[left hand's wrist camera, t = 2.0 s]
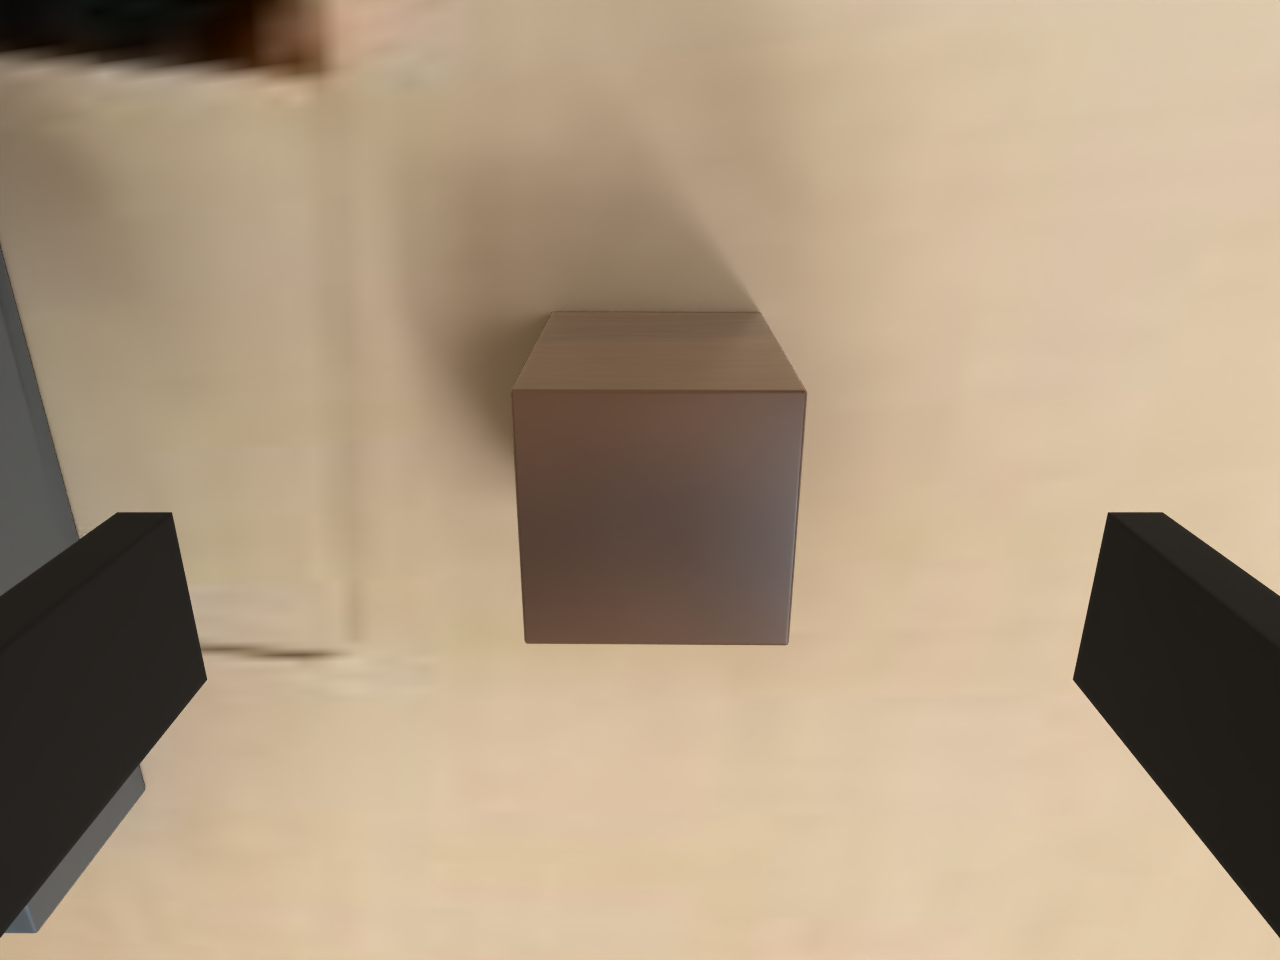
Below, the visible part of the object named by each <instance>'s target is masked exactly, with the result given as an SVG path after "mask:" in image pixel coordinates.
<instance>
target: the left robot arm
mask: <svg viewBox="0 0 1280 960" xmlns="http://www.w3.org/2000/svg"><path fill="white" fill-rule="evenodd" d="M206 680H207V677H206V672H205V667H204V662H203V658H202V653H201V648H200V643H199V639H198V634H197V629H196V624H195V620H194V615H193V610H192V605H191V601H190V596H189V591H188V586H187V582H186V577H185V572H184V567H183V563H182V558H181V553H180V548H179V544H178V539H177V534H176V529H175V525H174V520H173V515H172V512H117V513H116V514H114V515H113V516H112V517H110V518H109V519H107V520H106V521H105V522H103V523H102V524H100V525H99V526H98V527H96V528H95V529H93V530H92V531H91V532H89V533H88V534H86V535H85V536H84V537H82V538H81V539H79V540H78V541H77V542H75V543H74V544H72V545H71V546H70V547H68V548H67V549H66V550H64V551H63V552H61V553H60V554H59V555H57V556H56V557H54V558H53V559H52V560H50V561H49V562H47V563H46V564H45V565H43V566H42V567H40V568H39V569H38V570H36V571H35V572H33V573H32V574H31V575H29V576H28V577H26V578H25V579H24V580H22V581H21V582H19V583H18V584H17V585H15V586H14V587H12V588H11V589H10V590H8V591H7V592H5V593H4V594H3V595H1V596H0V938H1V936H2V935H3V934H4V933H5V931H6V930H7V929H8V928H9V926H10V925H11V924H12V923H13V921H14V920H15V919H16V918H17V916H18V915H19V914H20V913H21V911H22V910H23V909H24V908H25V906H26V905H27V904H28V903H29V901H30V900H31V899H32V898H33V896H34V895H35V894H36V893H37V891H38V890H39V889H40V888H41V886H42V885H43V884H44V883H45V881H46V880H47V879H48V878H49V876H50V875H51V874H52V873H53V871H54V870H55V869H56V868H57V866H58V865H59V864H60V863H61V861H62V860H63V859H64V858H65V856H66V855H67V854H68V853H69V851H70V850H71V849H72V848H73V846H74V845H75V844H76V843H77V841H78V840H79V839H80V838H81V836H82V835H83V834H84V833H85V831H86V830H87V829H88V828H89V826H90V825H91V824H92V823H93V821H94V820H95V819H96V818H97V816H98V815H99V814H100V813H101V811H102V810H103V809H104V808H105V806H106V805H107V804H108V803H109V801H110V800H111V799H112V798H113V796H114V795H115V794H116V793H117V791H118V790H119V789H120V788H121V786H122V785H123V784H124V783H125V781H126V780H127V779H128V778H129V776H130V775H131V774H132V773H133V771H134V770H135V769H136V768H137V766H138V765H139V764H140V763H141V761H142V760H143V759H144V758H145V756H146V755H147V754H148V753H149V751H150V750H151V749H152V748H153V746H154V745H155V744H156V743H157V741H158V740H159V739H160V738H161V736H162V735H163V734H164V733H165V731H166V730H167V729H168V728H169V726H170V725H171V724H172V723H173V721H174V720H175V719H176V718H177V717H178V715H179V714H180V713H181V712H182V710H183V709H184V708H185V707H186V705H187V704H188V703H189V702H190V700H191V699H192V698H193V697H194V695H195V694H196V693H197V692H198V690H199V689H200V688H201V687H202V685H203V684H204V683H205V682H206ZM1073 680H1074V682H1075V683H1076V684H1077V685H1078V687H1079V688H1080V689H1081V690H1082V692H1083V693H1084V694H1085V695H1086V697H1087V698H1088V699H1089V700H1090V702H1091V703H1092V704H1093V705H1094V707H1095V708H1096V709H1097V710H1098V712H1099V713H1100V714H1101V715H1102V717H1103V718H1104V719H1105V720H1106V722H1107V723H1108V724H1109V725H1110V726H1111V728H1112V729H1113V730H1114V731H1115V733H1116V734H1117V735H1118V736H1119V738H1120V739H1121V740H1122V741H1123V743H1124V744H1125V745H1126V746H1127V748H1128V749H1129V750H1130V751H1131V753H1132V754H1133V755H1134V756H1135V758H1136V759H1137V760H1138V761H1139V763H1140V764H1141V765H1142V766H1143V768H1144V769H1145V770H1146V771H1147V773H1148V774H1149V775H1150V776H1151V778H1152V779H1153V780H1154V781H1155V783H1156V784H1157V785H1158V786H1159V788H1160V789H1161V790H1162V791H1163V793H1164V794H1165V795H1166V796H1167V798H1168V799H1169V800H1170V801H1171V803H1172V804H1173V805H1174V806H1175V808H1176V809H1177V810H1178V811H1179V813H1180V814H1181V815H1182V816H1183V818H1184V819H1185V820H1186V821H1187V823H1188V824H1189V825H1190V826H1191V828H1192V829H1193V830H1194V831H1195V833H1196V834H1197V835H1198V836H1199V838H1200V839H1201V840H1202V841H1203V843H1204V844H1205V845H1206V846H1207V848H1208V849H1209V850H1210V851H1211V853H1212V854H1213V855H1214V856H1215V858H1216V859H1217V860H1218V861H1219V863H1220V864H1221V865H1222V866H1223V868H1224V869H1225V870H1226V871H1227V873H1228V874H1229V875H1230V876H1231V878H1232V879H1233V880H1234V881H1235V883H1236V884H1237V885H1238V886H1239V888H1240V889H1241V890H1242V891H1243V893H1244V894H1245V895H1246V896H1247V898H1248V899H1249V900H1250V901H1251V903H1252V904H1253V905H1254V906H1255V908H1256V909H1257V910H1258V911H1259V913H1260V914H1261V915H1262V916H1263V918H1264V919H1265V920H1266V921H1267V923H1268V924H1269V925H1270V926H1271V928H1272V929H1273V930H1274V931H1275V933H1276V934H1277V935H1278V936H1279V938H1280V596H1279V595H1277V594H1276V593H1275V592H1273V591H1272V590H1270V589H1269V588H1268V587H1266V586H1265V585H1263V584H1262V583H1261V582H1259V581H1258V580H1256V579H1255V578H1254V577H1252V576H1251V575H1249V574H1248V573H1247V572H1245V571H1244V570H1242V569H1241V568H1240V567H1238V566H1237V565H1235V564H1234V563H1233V562H1231V561H1230V560H1228V559H1227V558H1226V557H1224V556H1223V555H1221V554H1220V553H1219V552H1217V551H1216V550H1214V549H1213V548H1212V547H1210V546H1209V545H1208V544H1206V543H1205V542H1203V541H1202V540H1201V539H1199V538H1198V537H1196V536H1195V535H1194V534H1192V533H1191V532H1189V531H1188V530H1187V529H1185V528H1184V527H1182V526H1181V525H1180V524H1178V523H1177V522H1175V521H1174V520H1173V519H1171V518H1170V517H1168V516H1167V515H1166V514H1164V513H1163V512H1108V515H1107V520H1106V525H1105V529H1104V534H1103V539H1102V544H1101V548H1100V553H1099V558H1098V563H1097V567H1096V572H1095V577H1094V582H1093V586H1092V591H1091V596H1090V601H1089V605H1088V610H1087V615H1086V620H1085V624H1084V629H1083V634H1082V639H1081V643H1080V648H1079V653H1078V658H1077V662H1076V667H1075V672H1074V677H1073Z"/></svg>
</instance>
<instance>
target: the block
mask: <svg viewBox="0 0 1280 960" xmlns="http://www.w3.org/2000/svg"><path fill="white" fill-rule="evenodd" d="M510 396H511V413H512V430H513V448H514V465H515V482H516V500H517V517H518V534H519V552H520V569H521V586H522V604H523V621H524V639H525V642H526V643H527V644H678V645H788V643H789V632H790V618H791V605H792V591H793V578H794V564H795V551H796V537H797V524H798V510H799V497H800V483H801V470H802V456H803V443H804V429H805V416H806V402H807V391H806V389H805V388H804V386H803V384H802V383H801V381H800V379H799V377H798V376H797V374H796V372H795V371H794V369H793V367H792V365H791V364H790V362H789V360H788V359H787V357H786V355H785V353H784V352H783V350H782V348H781V347H780V345H779V343H778V341H777V340H776V338H775V336H774V335H773V333H772V331H771V329H770V328H769V326H768V324H767V323H766V321H765V319H764V317H763V316H762V314H761V313H760V312H552V313H551V315H550V317H549V319H548V321H547V323H546V325H545V327H544V328H543V330H542V332H541V334H540V336H539V338H538V340H537V342H536V344H535V346H534V347H533V349H532V351H531V353H530V355H529V357H528V359H527V361H526V363H525V365H524V366H523V368H522V370H521V372H520V374H519V376H518V378H517V380H516V382H515V384H514V385H513V387H512V389H511V392H510Z"/></svg>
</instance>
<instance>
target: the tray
mask: <svg viewBox="0 0 1280 960" xmlns="http://www.w3.org/2000/svg"><path fill="white" fill-rule="evenodd" d="M78 540H79V539H78V536H77V532H76V528H75V524H74V521H73V517H72V513H71V510H70V506H69V502H68V498H67V495H66V491H65V487H64V483H63V480H62V476H61V472H60V468H59V465H58V461H57V457H56V453H55V450H54V446H53V442H52V439H51V435H50V431H49V427H48V424H47V420H46V416H45V412H44V409H43V405H42V401H41V397H40V394H39V390H38V386H37V383H36V379H35V375H34V371H33V368H32V364H31V360H30V356H29V353H28V349H27V345H26V341H25V338H24V334H23V330H22V327H21V323H20V319H19V315H18V312H17V308H16V304H15V300H14V297H13V293H12V289H11V285H10V282H9V278H8V274H7V271H6V267H5V263H4V259H3V256H2V252H1V248H0V596H1V595H3V594H4V593H5V592H7V591H8V590H10V589H11V588H12V587H14V586H15V585H17V584H18V583H19V582H21V581H22V580H24V579H25V578H26V577H28V576H29V575H31V574H32V573H33V572H35V571H36V570H38V569H39V568H40V567H42V566H43V565H45V564H46V563H47V562H49V561H50V560H52V559H53V558H54V557H56V556H57V555H59V554H60V553H61V552H63V551H64V550H66V549H67V548H68V547H70V546H71V545H72V544H74V543H75V542H77V541H78ZM144 791H145V786H144V782H143V778H142V774H141V771H140V767H139V765H138V766H137V768H136V769H135V770H134V771H133V773H132V774H131V775H130V776H129V778H128V779H127V780H126V781H125V783H124V784H123V785H122V786H121V788H120V789H119V790H118V791H117V793H116V794H115V795H114V796H113V798H112V799H111V800H110V801H109V803H108V804H107V805H106V806H105V808H104V809H103V810H102V811H101V813H100V814H99V815H98V816H97V818H96V819H95V820H94V821H93V823H92V824H91V825H90V826H89V828H88V829H87V830H86V831H85V833H84V834H83V835H82V836H81V838H80V839H79V840H78V841H77V843H76V844H75V845H74V846H73V848H72V849H71V850H70V851H69V853H68V854H67V855H66V856H65V858H64V859H63V860H62V861H61V863H60V864H59V865H58V866H57V868H56V869H55V870H54V871H53V873H52V874H51V875H50V876H49V878H48V879H47V880H46V881H45V883H44V884H43V885H42V886H41V888H40V889H39V890H38V891H37V893H36V894H35V895H34V896H33V898H32V899H31V900H30V901H29V903H28V904H27V905H26V906H25V908H24V909H23V910H22V911H21V913H20V914H19V915H18V916H17V918H16V919H15V920H14V921H13V923H12V924H11V925H10V926H9V928H8V929H7V930H6V931H5V933H36V932H38V931H39V929H40V928H41V927H42V925H43V924H44V923H45V921H46V920H47V919H48V917H49V916H50V915H51V913H52V912H53V911H54V910H55V908H56V907H57V906H58V904H59V903H60V902H61V900H62V899H63V898H64V896H65V895H66V894H67V892H68V891H69V890H70V888H71V887H72V886H73V884H74V883H75V882H76V881H77V879H78V878H79V877H80V875H81V874H82V873H83V871H84V870H85V869H86V867H87V866H88V865H89V863H90V862H91V861H92V859H93V858H94V857H95V855H96V854H97V853H98V851H99V850H100V849H101V848H102V846H103V845H104V844H105V842H106V841H107V840H108V838H109V837H110V836H111V834H112V833H113V832H114V830H115V829H116V828H117V826H118V825H119V824H120V822H121V821H122V820H123V819H124V817H125V816H126V815H127V813H128V812H129V811H130V809H131V808H132V807H133V805H134V804H135V803H136V801H137V800H138V799H139V797H140V796H141V795H142V793H143V792H144Z"/></svg>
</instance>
